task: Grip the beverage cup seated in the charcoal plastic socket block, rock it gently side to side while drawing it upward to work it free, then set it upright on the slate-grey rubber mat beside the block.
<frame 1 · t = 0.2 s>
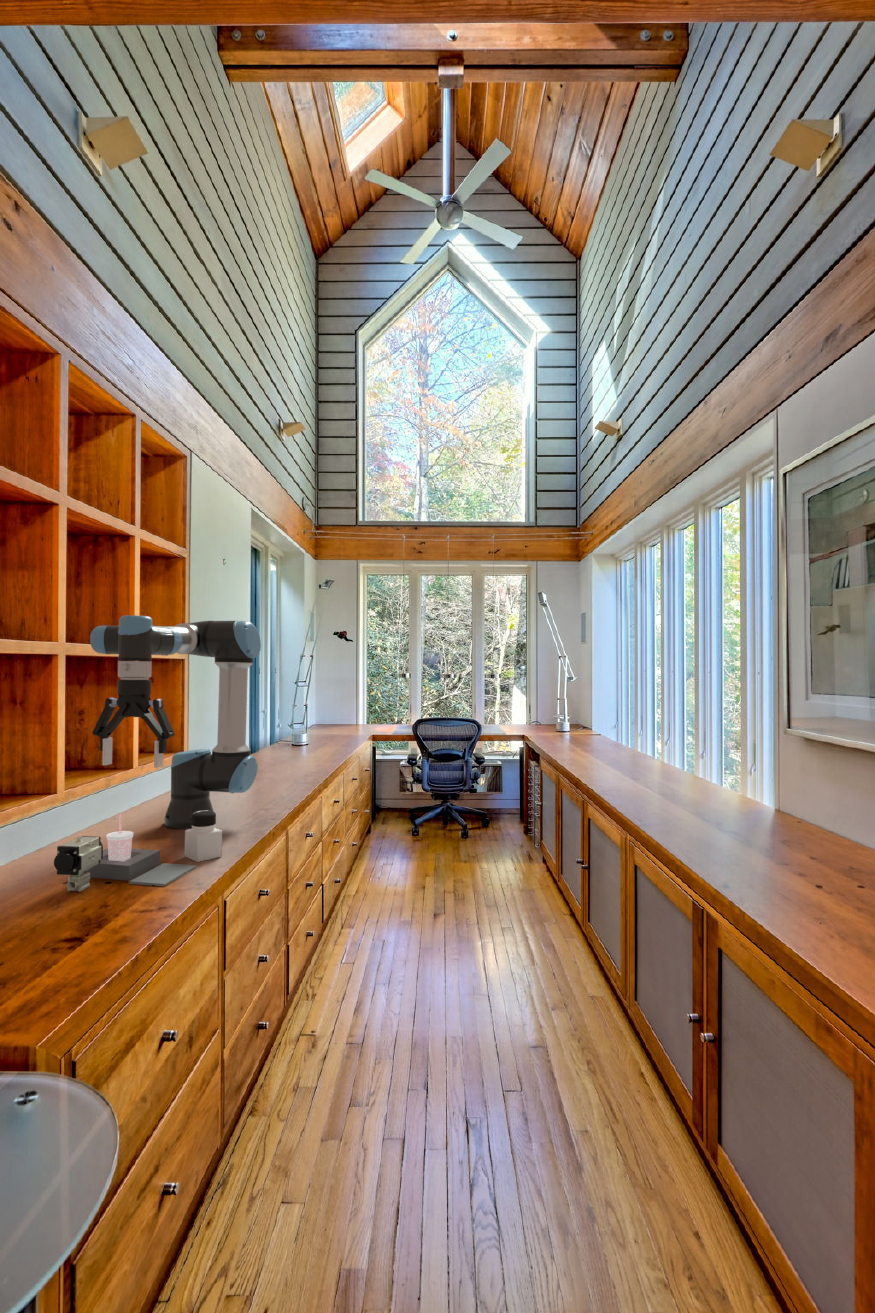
hand: (132, 765, 163), 26 cm above the counter, tool pointing down, fingers open, 13 cm apart
medicine bottle: (203, 857, 177), on the counter
rubber mat: (164, 875, 162), on the counter
socket block: (119, 870, 165), on the counter
pneumatic valve: (80, 890, 152), on the counter
beverage cup: (119, 870, 165), resting in socket block
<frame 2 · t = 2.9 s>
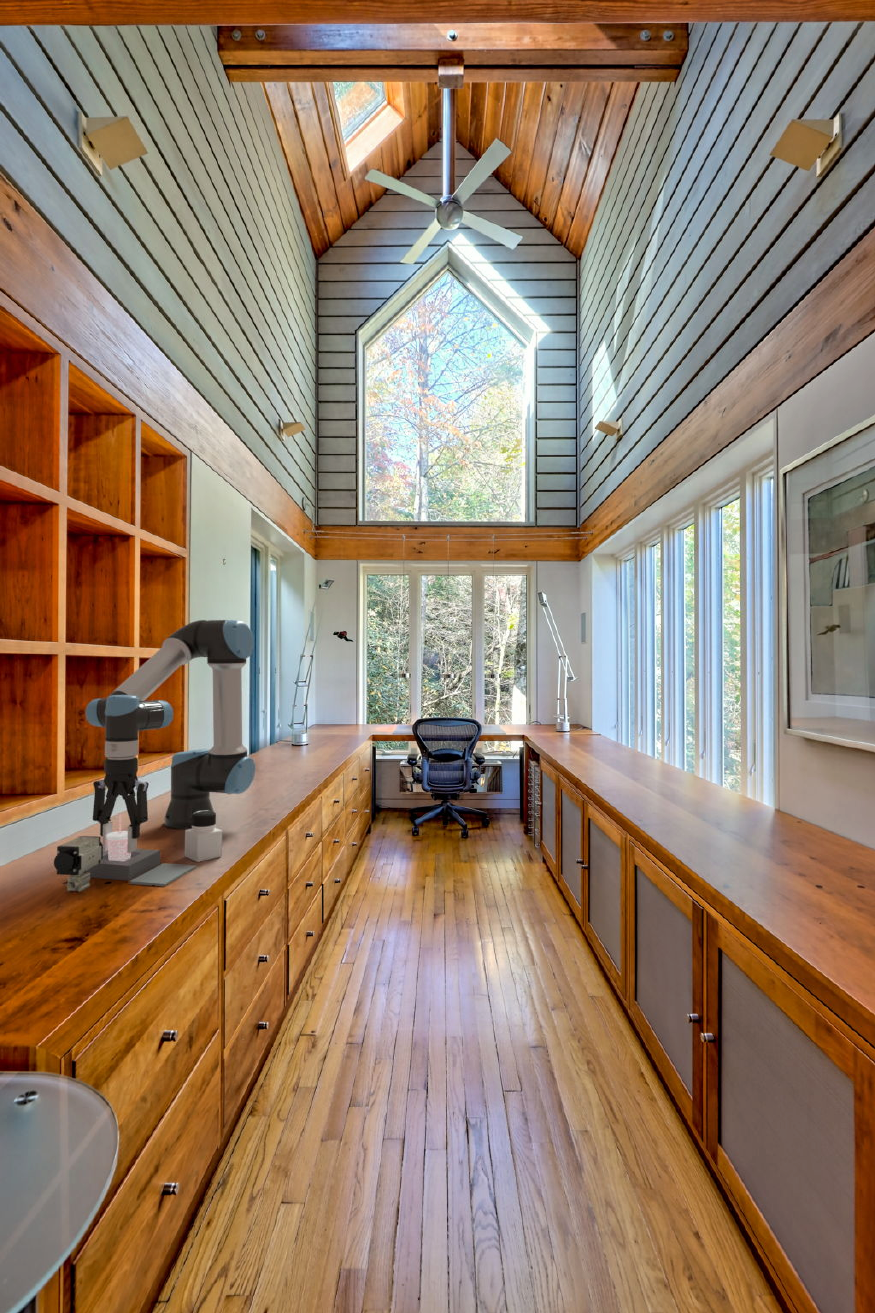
hand: (119, 850, 165), 5 cm above the counter, tool pointing down, fingers closed on beverage cup, 6 cm apart
beverage cup: (119, 870, 165), resting in socket block, touching gripper
everything else where it was.
when the fingers open (7 cm above the counter, at t = 9.4 s): beverage cup drops 1 cm, resting on rubber mat.
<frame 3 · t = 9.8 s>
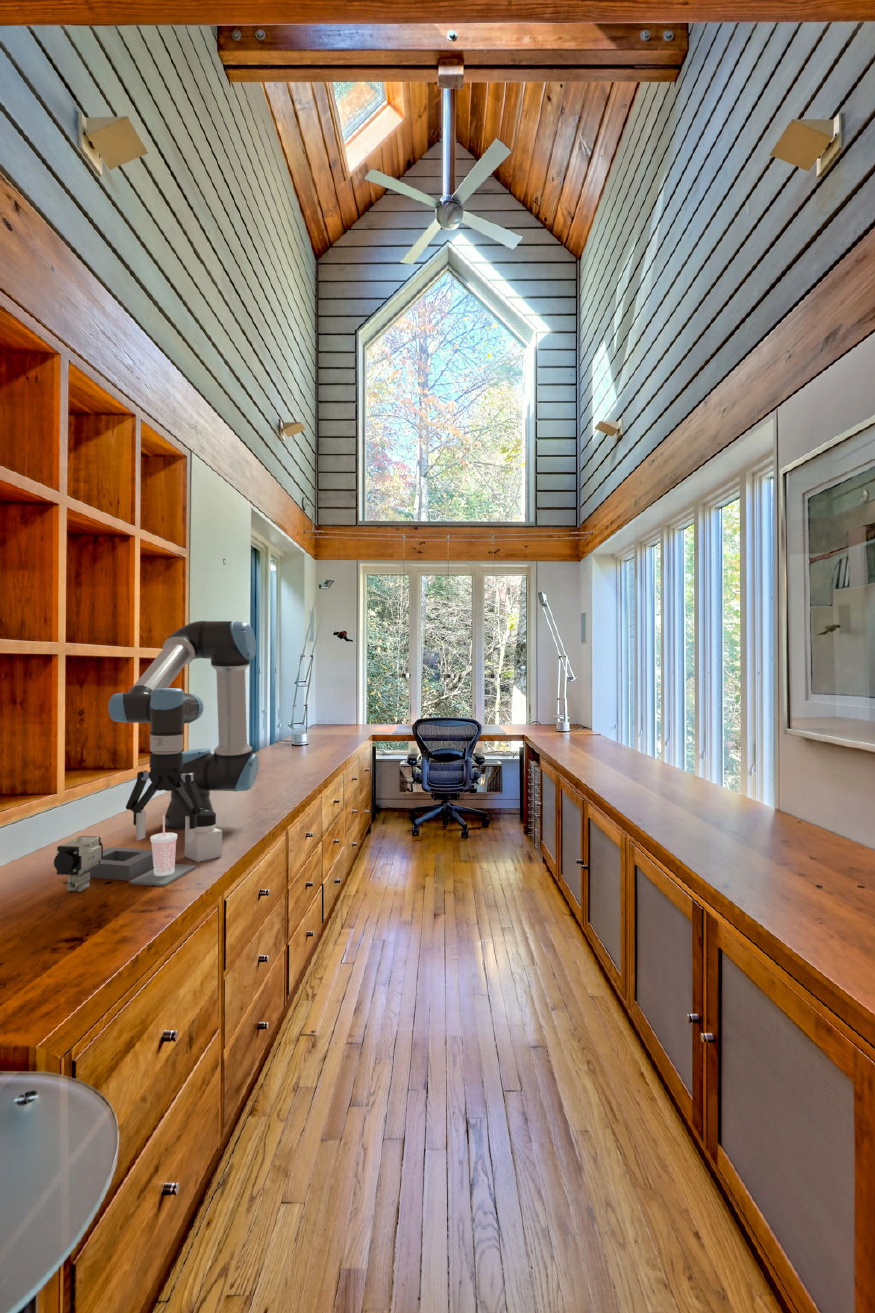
hand: (164, 840, 162), 9 cm above the counter, tool pointing down, fingers open, 12 cm apart
beverage cup: (164, 873, 162), resting on rubber mat
everything else where it was.
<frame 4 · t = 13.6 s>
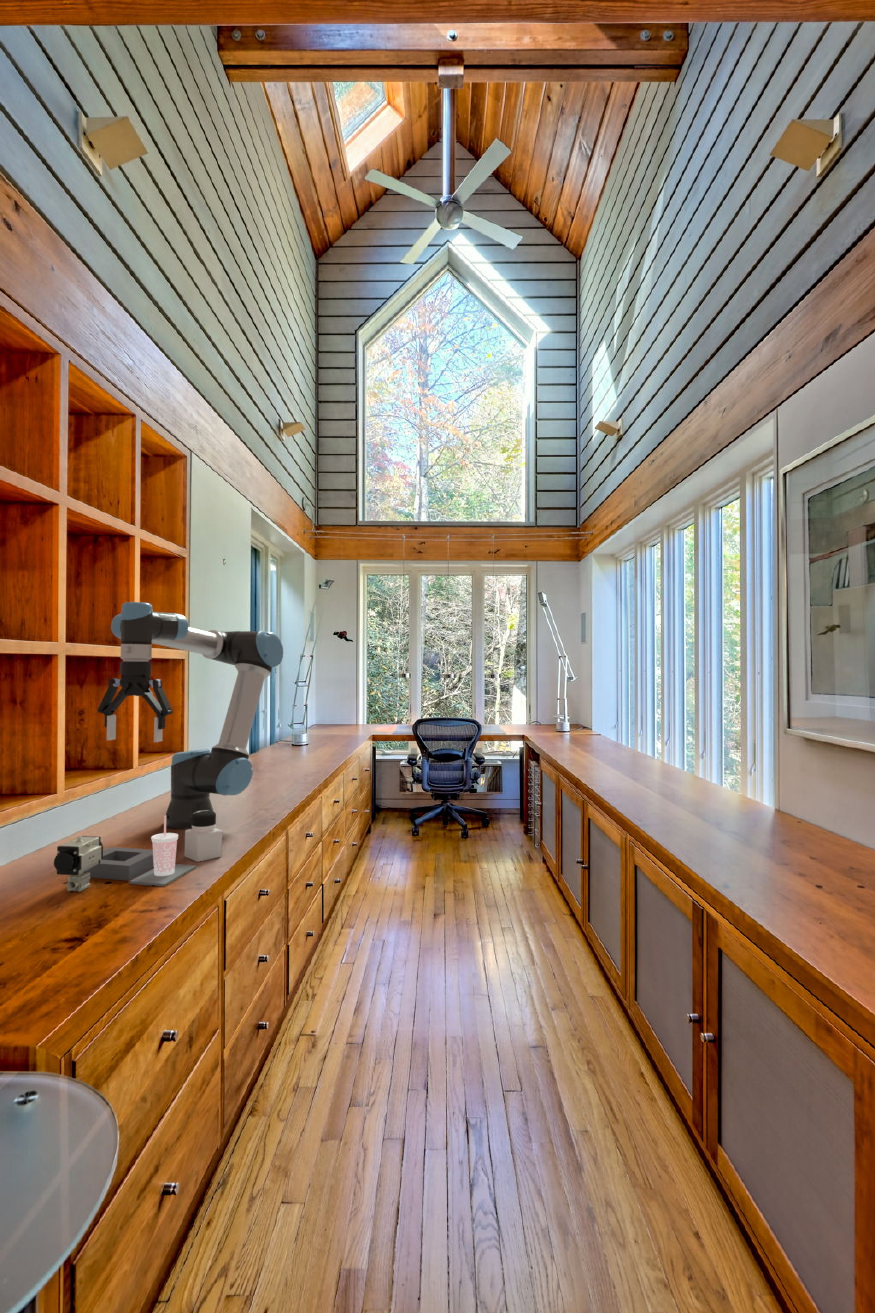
hand: (134, 740, 176), 31 cm above the counter, tool pointing down, fingers open, 13 cm apart
nothing on the counter moved.
at the end: beverage cup inside the target area on the rubber mat (0.0 cm from its centre), point 0.4 cm above the rubber mat's base; beverage cup tilted 0°; the gripper is holding nothing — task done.
